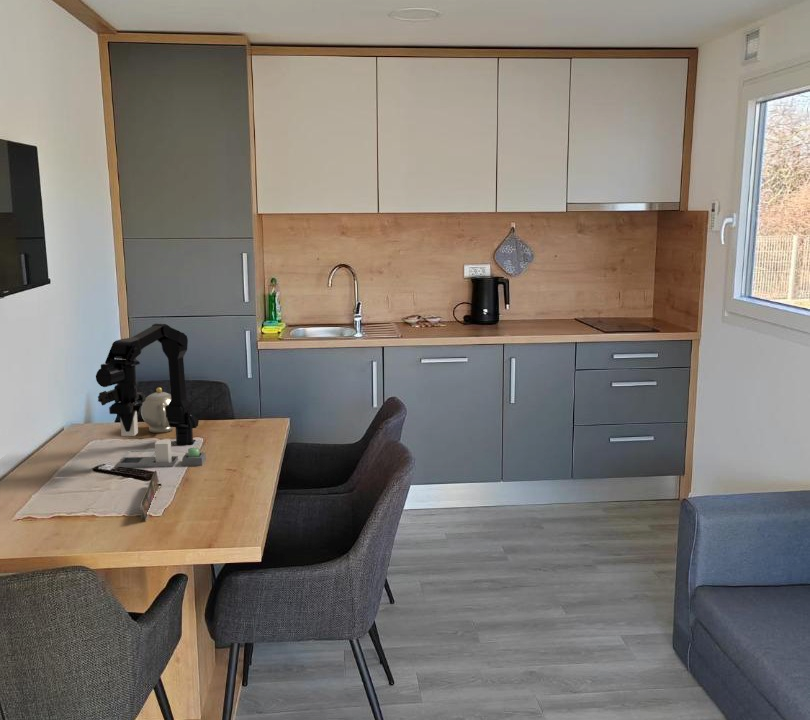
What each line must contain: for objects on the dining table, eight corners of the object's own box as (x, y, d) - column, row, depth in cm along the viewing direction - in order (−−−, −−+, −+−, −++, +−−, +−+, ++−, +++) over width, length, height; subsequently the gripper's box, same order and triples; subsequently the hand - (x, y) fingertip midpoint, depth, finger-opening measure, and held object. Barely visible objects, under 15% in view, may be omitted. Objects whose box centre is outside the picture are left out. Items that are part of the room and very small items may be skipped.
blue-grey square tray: (129, 453, 267) (129, 450, 267) (159, 453, 268) (159, 449, 267) (120, 462, 257) (120, 459, 257) (152, 462, 258) (151, 458, 258)
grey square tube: (186, 463, 256) (186, 452, 256) (205, 462, 257) (205, 452, 256) (182, 469, 251) (182, 458, 250) (202, 468, 251) (201, 457, 250)
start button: (189, 457, 255) (189, 447, 254) (200, 457, 255) (200, 447, 254) (187, 460, 252) (187, 450, 251) (198, 460, 252) (198, 450, 251)
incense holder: (146, 522, 207) (145, 502, 206) (141, 522, 206) (140, 503, 206) (161, 485, 236) (160, 468, 235) (156, 485, 236) (155, 468, 235)
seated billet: (159, 461, 255) (157, 440, 254) (171, 461, 255) (170, 440, 254) (155, 465, 251) (154, 443, 250) (168, 465, 251) (167, 443, 250)
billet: (138, 432, 253) (136, 410, 252) (134, 435, 249) (133, 414, 248) (125, 432, 253) (123, 411, 251) (121, 436, 249) (120, 414, 248)
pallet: (124, 463, 256) (123, 456, 256) (178, 462, 257) (178, 455, 257) (116, 471, 248) (116, 464, 248) (172, 470, 249) (172, 463, 249)
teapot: (140, 427, 301) (137, 385, 298) (177, 424, 306) (175, 382, 304) (145, 439, 285) (142, 394, 282) (184, 435, 290) (182, 391, 287)
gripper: (109, 375, 257) (112, 422, 259) (90, 387, 238) (93, 438, 241) (144, 375, 257) (147, 422, 260) (128, 386, 239) (131, 437, 242)
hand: (129, 429), depth 251 cm, fingers closed on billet, 4 cm apart
